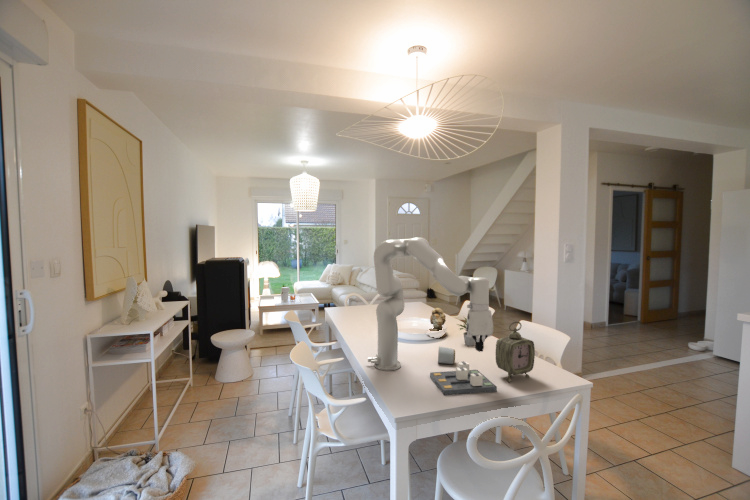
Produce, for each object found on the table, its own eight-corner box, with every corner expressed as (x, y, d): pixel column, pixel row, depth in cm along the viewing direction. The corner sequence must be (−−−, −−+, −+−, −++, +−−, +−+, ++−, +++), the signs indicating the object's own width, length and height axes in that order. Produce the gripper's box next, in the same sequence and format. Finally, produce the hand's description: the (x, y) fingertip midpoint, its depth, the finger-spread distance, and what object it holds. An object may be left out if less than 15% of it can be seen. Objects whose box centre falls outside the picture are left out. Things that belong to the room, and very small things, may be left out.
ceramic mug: (455, 366, 157) (455, 350, 157) (437, 365, 159) (438, 349, 159) (454, 358, 168) (454, 343, 168) (437, 357, 169) (438, 342, 169)
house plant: (462, 338, 201) (462, 311, 200) (485, 342, 192) (486, 315, 192) (453, 344, 189) (453, 316, 188) (477, 349, 181) (477, 320, 180)
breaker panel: (444, 395, 129) (444, 388, 129) (429, 377, 145) (430, 371, 145) (496, 391, 132) (496, 385, 132) (477, 374, 149) (477, 368, 149)
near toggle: (472, 386, 132) (473, 375, 132) (470, 383, 134) (470, 372, 134) (482, 385, 132) (482, 374, 132) (479, 382, 135) (479, 372, 135)
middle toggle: (458, 380, 137) (458, 369, 137) (456, 377, 140) (456, 367, 139) (467, 379, 138) (467, 369, 138) (465, 377, 140) (465, 367, 140)
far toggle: (460, 373, 144) (460, 363, 143) (458, 371, 146) (458, 361, 146) (469, 373, 144) (469, 363, 144) (466, 370, 147) (466, 361, 147)
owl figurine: (424, 330, 217) (425, 304, 217) (442, 330, 217) (443, 305, 217) (428, 338, 199) (429, 310, 199) (448, 339, 199) (449, 311, 199)
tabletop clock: (508, 385, 138) (510, 325, 137) (493, 376, 146) (494, 320, 145) (534, 379, 144) (535, 322, 143) (517, 371, 152) (518, 317, 151)
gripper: (466, 309, 134) (466, 354, 134) (500, 308, 136) (500, 352, 137) (458, 306, 141) (458, 348, 142) (491, 304, 143) (491, 346, 144)
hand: (479, 350), depth 139 cm, fingers closed
